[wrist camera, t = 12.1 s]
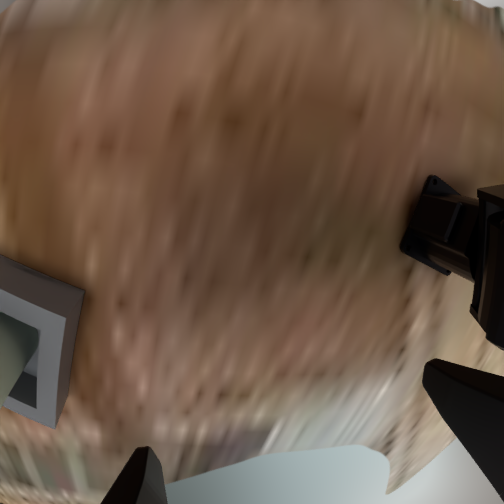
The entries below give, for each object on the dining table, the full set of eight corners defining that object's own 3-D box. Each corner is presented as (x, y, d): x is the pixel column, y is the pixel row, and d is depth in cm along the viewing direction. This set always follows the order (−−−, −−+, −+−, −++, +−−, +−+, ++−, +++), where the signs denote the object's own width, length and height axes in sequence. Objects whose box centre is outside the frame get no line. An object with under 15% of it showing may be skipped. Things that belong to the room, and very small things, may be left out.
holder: (85, 290, 19) (66, 318, 15) (67, 396, 21) (55, 429, 17) (-28, 241, 16) (-59, 256, 13) (-30, 349, 18) (-52, 374, 14)
